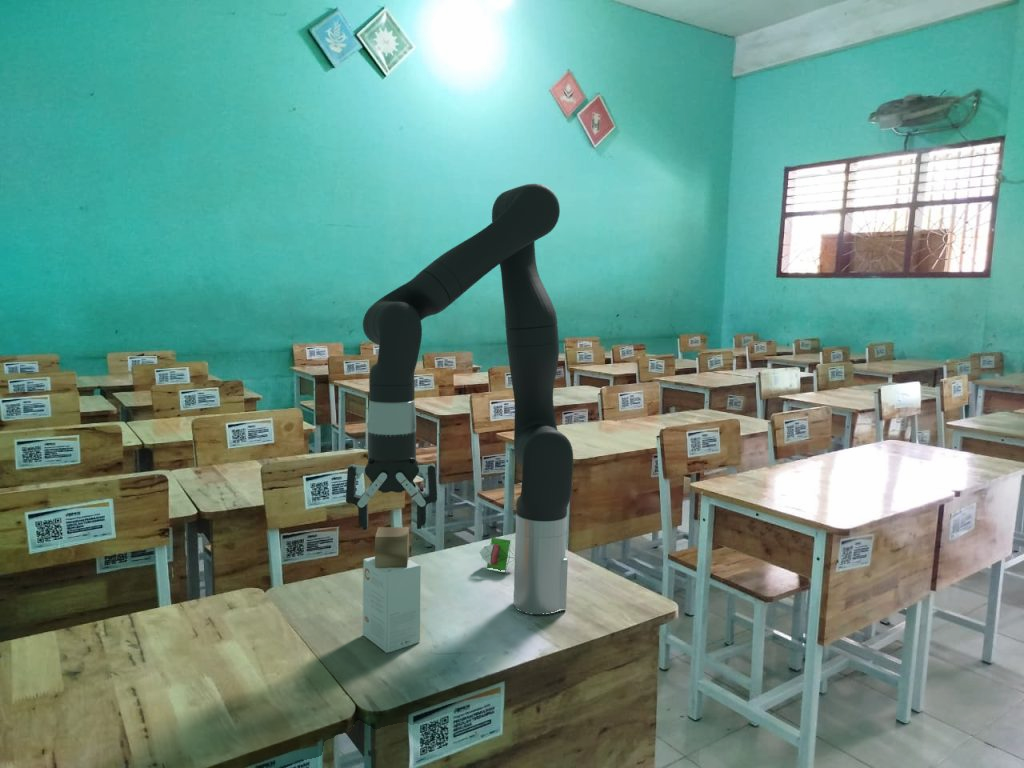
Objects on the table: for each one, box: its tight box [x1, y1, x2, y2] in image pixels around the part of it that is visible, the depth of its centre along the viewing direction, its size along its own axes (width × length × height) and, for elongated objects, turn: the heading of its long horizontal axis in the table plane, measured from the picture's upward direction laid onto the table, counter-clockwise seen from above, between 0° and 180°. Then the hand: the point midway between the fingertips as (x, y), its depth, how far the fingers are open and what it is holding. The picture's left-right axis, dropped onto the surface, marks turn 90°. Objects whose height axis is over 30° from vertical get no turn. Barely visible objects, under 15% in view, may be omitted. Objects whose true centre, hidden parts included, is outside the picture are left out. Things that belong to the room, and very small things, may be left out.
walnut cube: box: [374, 526, 410, 568], centre depth 114 cm, size 5×5×5 cm
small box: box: [362, 556, 422, 654], centre depth 115 cm, size 8×6×13 cm
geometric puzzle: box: [479, 537, 515, 571], centre depth 147 cm, size 7×7×8 cm
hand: (392, 528), depth 113 cm, fingers open, 8 cm apart
